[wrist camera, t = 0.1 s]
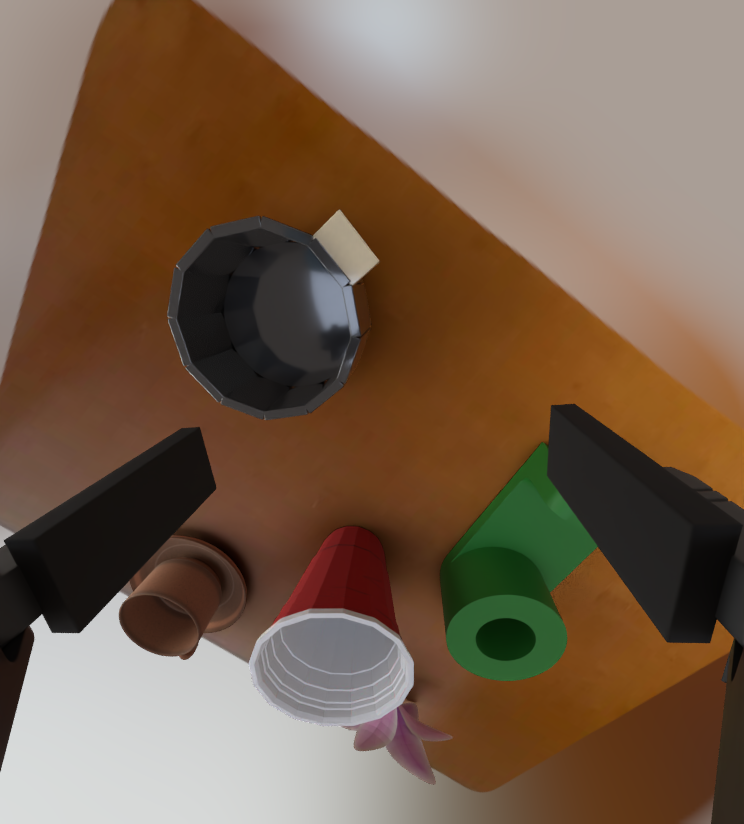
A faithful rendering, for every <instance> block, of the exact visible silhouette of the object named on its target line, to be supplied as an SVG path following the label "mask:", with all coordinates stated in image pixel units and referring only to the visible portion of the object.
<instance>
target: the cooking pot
mask: <svg viewBox="0 0 744 824" xmlns="http://www.w3.org/2000/svg"><path fill="white" fill-rule="evenodd" d="M210 228H211V229H207V230H206V231H205V232H204V233H203V234H202V235H201V236H200V238H199V239H198V240H197V241H196V242H195V243H194V245H193V246H192V247H191V248H190V249H189V250H188V251H187V253H186V254H185V255H184V256H183V257H182V258H181V259H180V261H179V262H178V263H177V264H176V266H177V267H178V268H174V273H173V280H172V287H171V293H170V300H169V307H168V314H167V316H168V317H170V319H168V322H169V325H170V328H171V331H172V334H173V337H174V340H175V343H176V345H177V348H178V351H179V354H180V357H181V360H182V363H183V365H184V366H187V365H188V366H187V367H186V370H187V371H188V372H189V373H190V374H191V375H192V376H193V377H194V378H195V379H196V380H197V381H198V382H199V383H200V384H201V385H202V386H203V387H204V388H205V389H206V390H207V391H208V392H209V393H210V394H211V395H212V397H213V398H214V399H215V400H216V401H217V402H220V401H221V404H222V405H225V406H227V407H230V408H233V409H235V410H238V411H241V412H243V413H246V414H249V415H251V416H254V417H257V418H259V419H262V420H263V419H264V418H265V420H271V419H278V418H285V417H293V416H300V415H307V414H308V413H312V412H313V411H314V410H315V409H316V408H318V407H319V406H320V405H321V404H323V403H324V402H325V401H326V400H328V399H329V398H330V397H331V396H333V395H334V394H335V393H336V392H337V391H339V390H340V389H341V388H342V387H344V385H345V383H346V382H347V381H348V379H349V378H350V376H351V374H352V373H353V371H354V370H355V368H356V367H357V365H358V364H359V361H360V359H361V356H362V353H363V350H364V347H365V345H366V342H367V339H368V336H369V333H370V331H371V327H370V326H371V325H372V323H371V317H370V312H369V306H368V300H367V294H366V288H365V285H364V284H363V283H364V282H363V280H362V278H363V277H364V276H366V275H367V274H368V273H369V272H370V271H371V270H372V269H373V268H374V267H375V266H377V265H378V264H379V263H380V261H379V259H378V258H377V257H376V255H375V254H374V253H373V251H372V250H371V249H370V247H369V246H368V245H367V244H366V242H365V241H364V240H363V238H362V237H361V236H360V234H359V233H358V232H357V231H356V229H355V228H354V227H353V225H352V224H351V223H350V221H349V220H348V219H347V218H346V216H345V215H344V214H343V212H342V211H341V210H340V209H339V210H338V211H337V212H336V213H335V214H334V215H333V216H332V217H331V218H330V219H329V220H328V221H327V222H326V223H325V224H324V225H323V226H322V227H321V228H320V229H319V230H318V231H317V232H316V233H315V234H314V235H311V234H308V233H306V232H303V231H300V230H298V229H295V228H293V227H290V226H288V225H285V224H283V223H280V222H277V221H275V220H272V219H270V218H267V217H265V216H262V217H261V216H255V217H251V218H246V219H242V220H237V221H233V222H228V223H224V224H220V225H215V226H211V227H210ZM294 241H295V242H294Z"/></svg>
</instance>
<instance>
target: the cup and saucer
mask: <svg viewBox="0 0 744 824" xmlns="http://www.w3.org/2000/svg"><path fill="white" fill-rule="evenodd" d="M130 584H131V587H132V589H133V593H132V594H131V595H130V596H129V597H128V598H127V599H126V600H125V601H124V603H123V604H122V606H121V607H120V610H119V620H120V624H121V626H122V628H123V630H124V632H125V633H126V635H127V636H128V637H129V638H130V639H131V640H132V641H133V642H134V643H136V644H137V645H138V646H140V647H141V648H143V649H145V650H147V651H149V652H152V653H154V654H158V655H162V656H179V657H180V658H181V659H183V660H186V659H188V658H190V657H191V656H192V655H193V654H194V652H195V650H196V648H197V646H198V642H199V640H200V638H201V636H202V635H203V633H212V632H217V631H221V630H224V629H226V628H228V627H230V626H231V625H233V624H234V623H235V622H236V621H237V620H238V619H239V618H240V616H241V615H242V613H243V611H244V608H245V605H246V600H247V589H246V584H245V581H244V578H243V576H242V574H241V572H240V571H239V569H238V568H237V566H236V565H235V563H234V562H233V561H232V560H231V559H230V558H229V557H228V556H227V555H226V554H225V553H224V552H222V551H221V550H220V549H218V548H217V547H215V546H213V545H211V544H209V543H207V542H205V541H202V540H200V539H196V538H192V537H187V536H178V535H172V536H171V537H170V538H169V539H168V540H167V541H166V542H165V543H164V544H163V546H162V547H161V548H160V549H159V550H158V551H157V552H156V553H155V554H154V555H153V556H152V557H151V558H150V559H149V560H148V561H147V562H146V564H145V565H144V566H143V567H142V568H141V569H140V570H139V571H138V572H137V573H136V574H135V575H134V576H133V577H132V578H131V579H130Z"/></svg>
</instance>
